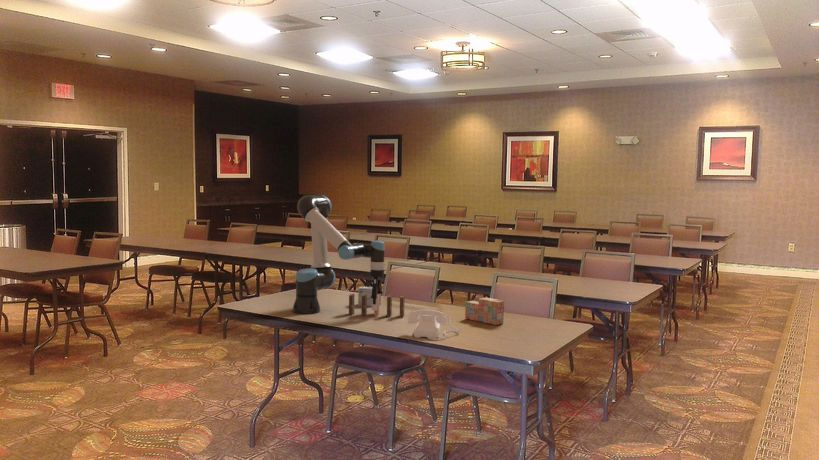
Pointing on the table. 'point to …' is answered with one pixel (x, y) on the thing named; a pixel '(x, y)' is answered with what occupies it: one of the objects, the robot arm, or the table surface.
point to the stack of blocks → (485, 311)
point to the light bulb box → (365, 291)
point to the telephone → (429, 323)
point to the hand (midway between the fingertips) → (376, 307)
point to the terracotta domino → (376, 312)
